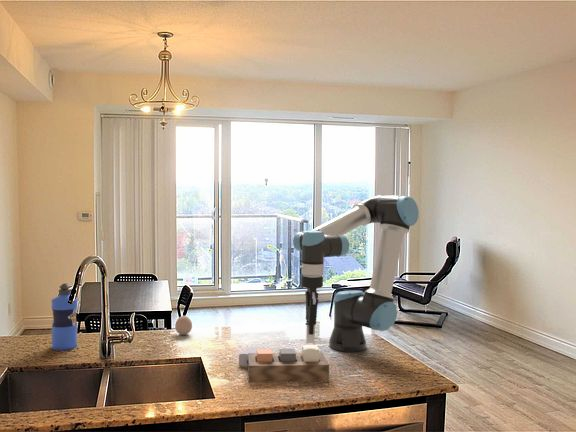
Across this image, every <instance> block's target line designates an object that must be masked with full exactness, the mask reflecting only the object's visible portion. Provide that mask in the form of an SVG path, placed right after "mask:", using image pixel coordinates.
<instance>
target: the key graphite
mask: <svg viewBox="0 0 576 432" xmlns="http://www.w3.org/2000/svg"><path fill="white" fill-rule="evenodd" d="M278 353H279V362H296V353H297V352H296V350H295V348H279V350H278Z"/></svg>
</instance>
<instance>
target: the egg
mask: <svg viewBox="0 0 576 432" xmlns="http://www.w3.org/2000/svg"><path fill="white" fill-rule="evenodd" d="M192 328H193V322H192V320H191V319H190V318H189V317H188V316H187V315H181V316H179V317H178V318H177V320H176V322H175V324H174V329H175V331H176V332H177V334H179V335H181V336H186V335H189V334H190V332H192Z"/></svg>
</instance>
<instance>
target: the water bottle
mask: <svg viewBox="0 0 576 432" xmlns="http://www.w3.org/2000/svg"><path fill="white" fill-rule="evenodd" d="M59 288H60V289H58V295H57V296H55V297H54V298H52V299H51V311H52V317H53V319H52V325H51V349H52V351H53V350H54V351H59V352H60V351H70V350H73V349H75V348H77V347H78V346H77V345H78V322H77V310H78V305H79V303H78V297H76V299H75V300H74V301H73V303H72V304H70V303H68V301H69V296H70V295H71V292H72V291H71V286H70V285H69V284H68V283H62V284H61V285H60V286H59Z"/></svg>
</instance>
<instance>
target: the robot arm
mask: <svg viewBox="0 0 576 432" xmlns="http://www.w3.org/2000/svg"><path fill="white" fill-rule="evenodd" d="M418 220H419V207H418V205H417V202H416V200H415V199H414V198H413V197H411V196H407V195H385V194H379V195H374V196H372V197H369V198H366V199H364V200H362V201H360V202H358V203H355V204H354V205H353V206H352V208H351V209H349V210H348V211H345V212H344V213H342V214H340V215H338V216H336V217H334V218H332V219H330V220H328V221H326V222H324V223H322V224H320V225H318V226H317V227H315V228H313V229H311V230H305V231H299V232H297V233H296V234H295V235H294V236H293V239H292V244H293V247H294V249H295V250H296V251H298V252H301V265H300V266H299V269H301V274H302V276H300V279H301V280H300V285H301V287H302V288H304V289H305V288H306V290H305V292H304V293H305V295H304V296H305V321H306V322H305V326H306V330H305V331H306V333H305V334H306V335H305V336H306V337H305V343H306V344H315V339H316V338H315V337H316V336H315V334H316V325H317V318H318V317H317V316H318V314H317V313H318V305H319V304H318V303H319V299H318V298H319V292H318V291H317V289H321V288H323V285H324V276H323V275H324V269H325V267H324V261H325V260H324V259H325V258H330V257H331V258H332V257H341V256H345V255H346V254H348V252H349V249H350V242H349V239H348V238H347V237H346V236H345V234H347V233H350V232H351V231H353V230H355V229H357V228H358V227H361V226H363V227H364V226H368V225H369V224H373V223H374V224H379V226H380V228H381V230H382V232H381V236H380V239H379V240H380V241H379V245H378V250H377V254H376V258H375V263H374V268H373V271H372V277H371V281H370V286H369V288H368V289H366V290H364V291H363V290H354V289H353V290H343V291H337V292H336V293H335V297H334V306H333V307H334V309H333V310H334V313H333V317H334V318H333V319H334V320H333V321H334V322H333V329H332V332H331V335H330V337H329V343H328V345H329V348H331V349H333V350H336V351H340V352H346V353H348V352H349V353H356V352H362V351H364V350H366V349H367V348H366V347H367V340H366V337H365V334H364V331H363V327H365V328H369V329H371V330H373V331H380V332H384V331H385V332H386V331H387V330H389V329H391V328H392V326H393V325H394V324H395V322H396V320H397V317H398V307H397V305H396V303H394V301H395V297H394V296H393V294H392V291H393V287H394V282H395V278H396V277H395V276H396V273H397V268H398V263H399V259H400V255H401V250H402V247H403V246H402V245H403V241H404V237H405V234H408V233H409V231H410V229H411V227H412V226H415V225H416V223H417V222H418Z"/></svg>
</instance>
